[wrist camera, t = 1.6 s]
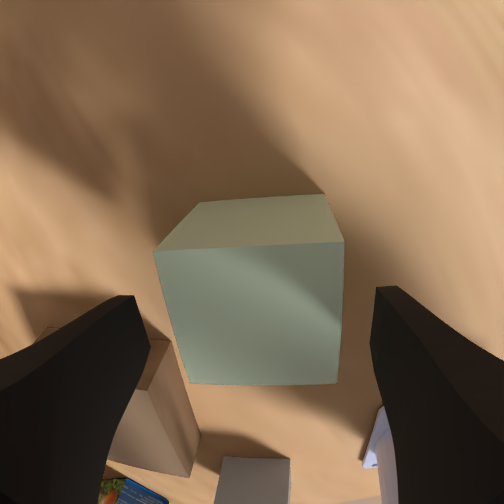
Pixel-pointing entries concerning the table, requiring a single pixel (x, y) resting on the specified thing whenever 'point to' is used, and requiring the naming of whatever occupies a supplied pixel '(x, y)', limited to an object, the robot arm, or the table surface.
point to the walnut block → (156, 418)
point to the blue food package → (127, 493)
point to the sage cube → (256, 290)
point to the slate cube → (254, 481)
